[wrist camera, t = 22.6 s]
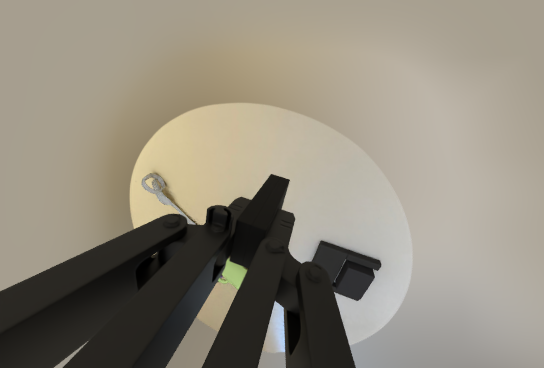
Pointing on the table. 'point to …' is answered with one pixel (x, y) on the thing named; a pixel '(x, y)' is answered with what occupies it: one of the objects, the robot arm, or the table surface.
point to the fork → (169, 202)
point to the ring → (151, 188)
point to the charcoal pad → (354, 279)
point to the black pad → (340, 261)
